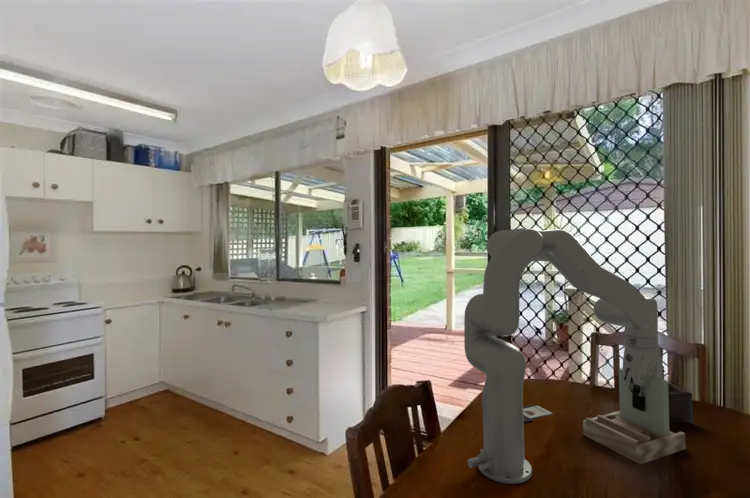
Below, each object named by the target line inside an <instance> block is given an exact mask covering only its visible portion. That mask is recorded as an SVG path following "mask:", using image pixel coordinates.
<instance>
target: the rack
mask: <svg viewBox="0 0 750 498" xmlns="http://www.w3.org/2000/svg"><path fill="white" fill-rule="evenodd" d="M618 417H619V418H620V410H618V411H613V412H610V413H607V414H606V413H605V414H603V415H601V414H598V415H597V416H595V417H585V419H583V420H582V431H583V433H582V434H583V436H585V437H587V438H589V439H591V440H593V441H595V442H597V443H598V444H600V445H602V446H604V447H606V448H609V449H610V450H613V452H616V453H618V454H620V455H622V456H623V457H626V458H627V459H629V460H631V461H633V462H635V463H637V464H639V465H643V464H646V463H648V462H652V461H654V460H657V459H661V458H664V457H665V456H666V457H667V456H669V455H672V454H676V453H678V452H680V451H683V450H686V433H685V432H683V431H678V432H676V433H675V432H674V431H673V432H672V431H670V430H669V436H663V435H660V434H658V433H656V432H653V431H651V430H649V436H647V435H645V434H642V433H640V432H638V431H636V430H633V429H631V428H629V427H626V426H624V425H622V424H620V423H617V422H615V421H613V420H612V419H615V418H618ZM622 419H623V418H622ZM624 420H625V419H624ZM629 422H630V421H629ZM651 438H652V439H655V440H653V441H651Z"/></svg>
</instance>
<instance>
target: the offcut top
mask: <svg viewBox="0 0 750 498" xmlns="http://www.w3.org/2000/svg"><path fill="white" fill-rule="evenodd" d="M612 420H613V421H615V422H617V423H620V424H622V425H624V426H626V427H629V428H631V429H633V430H636V431H638V432H640V433H642V434H645V435H647V436H649V429H647V428H645V427H642V426H639V425H637V424H634V423H632V422H629V421H627V420H624V419H622V418H619V417H618V418H615V419H612Z"/></svg>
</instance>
